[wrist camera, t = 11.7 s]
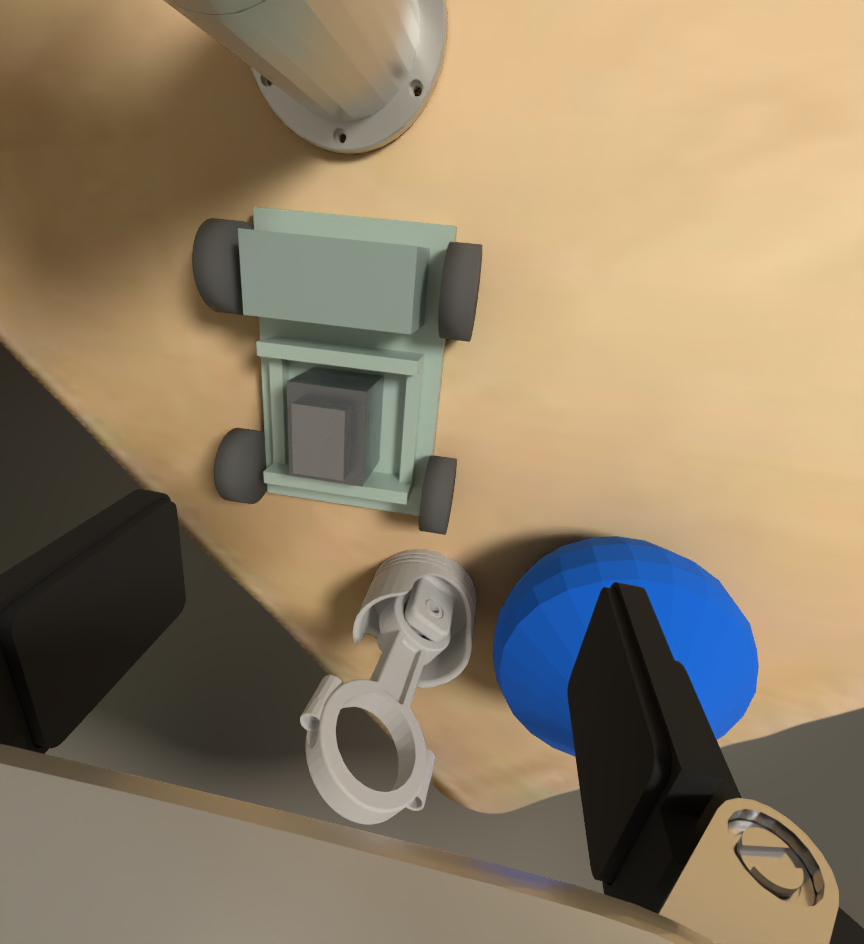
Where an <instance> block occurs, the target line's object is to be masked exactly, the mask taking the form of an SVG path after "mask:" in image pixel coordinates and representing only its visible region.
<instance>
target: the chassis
mask: <svg viewBox="0 0 864 944" xmlns="http://www.w3.org/2000/svg"><path fill="white" fill-rule="evenodd" d="M253 219H254V229H253V228H252V226H251V225H249V224H248V223H246V222H244V221H235V220H225V219H215V218H211V219H208V220H206V221H204V222H203V223H202V224H201V226H200V227H199V229H198V231H197V233H196V236H195V240H194V244H193V253H192V262H193V272H194V277H195V282H196V285H197V288H198V291H199V293H200V295H201V297H202V299H203V300H204V302H205V303H206V304H207V305H208V306H209V307H210V308H211V309H212V310H214V311H217V312H223V313H232V314H240V315H250V316H258V317H259V334H260V340H259V341H256V346H257V356H261V372H262V392H263V411H264V430H265V432H263V431H257V430H250V429H243V428H235V429H232V430H231V431H229V432H228V433H227V434H226V436H225V437H224V438H223V440H222V442H221V444H220V446H219V448H218V451H217V455H216V459H215V465H214V480H215V486H216V489H217V492H218V493H219V495H220V496H221V497H222V498H223V499H225V500H229V501H235V502H241V503H248V504H254V503H256V502H258V501H259V500H260V499H261V498H262V497H263V496H264V494H265V492H266V490H267V488H268V493H274V494H281V495H287V496H294V497H300V498H307V499H313V500H320V501H326V502H332V503H339V504H345V505H352V506H358V507H365V508H371V509H378V510H384V511H391V512H397V513H404V514H410V515H416V516H419V530H420V531H425V532H431V533H438V534H444V535H445V534H446V532H447V527H448V523H449V517H450V511H451V505H452V499H453V492H454V485H455V477H456V467H457V459H454V458H447V457H440V456H434V449H435V439H436V429H437V419H438V410H439V400H440V390H441V380H442V370H443V360H444V351H445V341H446V339H452V340H461V341H469V342H470V340H471V336H472V331H473V326H474V320H475V313H476V306H477V299H478V291H479V283H480V273H481V262H482V245H480V244H469V243H459V242H456V233H457V227H456V226H451V225H441V224H430V223H420V222H409V221H399V220H388V219H378V218H367V217H357V216H346V215H335V214H325V213H314V212H304V211H293V210H283V209H272V208H262V207H253ZM313 367H319V368H327V369H334V370H342V371H350V372H357V373H365V374H373V375H380V376H384V386H383V404H382V422H381V440H380V458H379V462H378V464H377V465H376V467H375V468H374V470H373V471H372V473H371V474H370V476H369V477H368V479H367V480H366V482H365V484H364V485H363V487H360V486H354V485H347V484H341V483H334V482H328V481H321V480H315V479H308V478H302V477H295V476H289V447H288V412H287V381H288V380H290V379H292V378H294V377H296V376H298V375H300V374H301V373H303V372H305V371H307V370H309V369H311V368H313Z"/></svg>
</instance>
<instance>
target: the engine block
mask: <svg viewBox="0 0 864 944" xmlns="http://www.w3.org/2000/svg"><path fill="white" fill-rule="evenodd" d="M383 386H384V376H380V375H373V374H365V373H357V372H350V371H342V370H334V369H327V368H319V367H313V368H311V369H309V370H307V371H305V372H303V373H301V374H300V375H298V376H296V377H294V378H292V379H290V380H288V381H287V412H288V447H289V476H295V477H302V478H308V479H315V480H321V481H328V482H334V483H341V484H347V485H354V486H360V487H363V485H364V484H365V482H366V480H367V479H368V477H369V476H370V474H371V473H372V471H373V470H374V468H375V467H376V465H377V464H378V462H379V458H380V440H381V422H382V404H383Z"/></svg>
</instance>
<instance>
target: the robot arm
mask: <svg viewBox="0 0 864 944" xmlns="http://www.w3.org/2000/svg"><path fill="white" fill-rule="evenodd" d="M164 1H165V2H166V3H168V4H169V5H170V6H172V7H173V8H174V9H176V10H177V11H178V12H179V13H181V14H182V15H183V16H185V17H186V18H187V19H189V20H190V21H191V22H193V23H194V24H195V25H197V26H198V27H199V28H201V29H202V30H203V31H204V32H206V33H207V34H208V35H210V36H211V37H212V38H214V39H215V40H216V41H218V42H219V43H220V44H222V45H223V46H224V47H225V48H227V49H228V50H229V51H231V52H232V53H233V54H235V55H236V56H237V57H239V58H240V59H241V60H243V61H244V62H245V63H247V64H248V65H249V66H250V68H251V71H252V73H253V75H254V78H255V80H256V82H257V85H258V87H259V89H260V91H261V93H262V95H263V96H264V98H265V99H266V101H267V103H268V104H269V106H270V107H271V109H272V110H273V112H274V113H275V114H276V115H277V116H278V117H279V118H280V119H281V121H282V122H283V123H284V124H285V125H286V126H287V127H288V128H290V129H291V130H292V131H293V132H295V133H296V134H297V135H299V136H300V137H301V138H303V139H304V140H306V141H308V142H310V143H311V144H313V145H315V146H318V147H320V148H323V149H325V150H328V151H331V152H338V153H345V154H353V153H364V152H368V151H371V150H374V149H377V148H380V147H383V146H385V145H386V144H388V143H390V142H391V141H393V140H395V139H396V138H398V137H399V136H400V135H401V134H403V133H404V132H405V131H406V130H407V129H408V128H409V127H410V126H411V125H412V124H413V123H414V122H415V121H416V119H417V118H418V117H419V115H420V114H421V112H422V111H423V110H424V108H425V107H426V105H427V103H428V101H429V99H430V97H431V95H432V93H433V92H434V90H435V88H436V85H437V82H438V79H439V76H440V73H441V69H442V66H443V63H444V57H445V50H446V44H447V23H448V12H447V5H446V0H164ZM270 82H271V83H273V84H272V85H270ZM418 88H420V89H422V93H421V95H420V96H418V97H417V96H415V90H416V89H418ZM342 135H346V141H345V142H344V143H341V137H342ZM185 598H186V595H185V586H184V576H183V567H182V557H181V547H180V537H179V527H178V517H177V508H176V505H175V503H173V502H171V500H170V498H169V496H168V495H166V494H164V493H159V492H154V491H149V490H144V489H138V490H135V491H133V492H132V493H130V494H128V495H127V496H125V497H124V498H122V499H120V500H119V501H117V502H116V503H114V504H112V505H111V506H109V507H108V508H106V509H105V510H103V511H101V512H100V513H98V514H97V515H95V516H94V517H92V518H90V519H89V520H87V521H85V522H84V523H82V524H81V525H79V526H77V527H76V528H74V529H73V530H71V531H69V532H68V533H66V534H65V535H63V536H61V537H60V538H58V539H57V540H55V541H54V542H52V543H50V544H49V545H47V546H46V547H44V548H42V549H41V550H39V551H38V552H36V553H35V554H33V555H31V556H30V557H28V558H27V559H25V560H23V561H22V562H20V563H18V564H17V565H15V566H14V567H12V568H11V569H9V570H7V571H6V572H4V573H3V574H1V575H0V944H864V929H863V928H862V927H861V926H860V925H859V924H858V923H857V922H855V921H854V920H853V919H852V918H851V917H850V916H849V915H847V914H846V913H845V912H844V911H843V910H842V909H841V908H839V890H838V887H837V884H836V881H835V878H834V875H833V872H832V870H831V868H830V867H829V865H828V863H827V862H826V860H825V858H824V857H823V855H822V853H821V852H820V851H819V850H818V848H817V847H816V846H815V845H814V843H813V842H812V841H811V840H810V839H809V837H808V836H807V835H806V834H805V833H804V832H803V831H802V830H800V829H799V828H798V827H797V826H796V825H795V824H794V823H792V822H791V821H790V820H789V819H788V818H786V817H784V816H783V815H782V814H780V813H779V812H777V811H775V810H774V809H772V808H771V807H768V806H766V805H764V804H761V803H759V802H757V801H754V800H749V799H742V798H741V796H740V793H739V791H738V789H737V786H736V784H735V782H734V779H733V777H732V775H731V773H730V770H729V768H728V766H727V763H726V761H725V759H724V756H723V754H722V752H721V749H720V747H719V745H718V742H717V740H716V738H715V736H714V733H713V731H712V729H711V726H710V724H709V722H708V719H707V717H706V715H705V712H704V710H703V708H702V705H701V703H700V701H699V699H698V696H697V694H696V692H695V689H694V687H693V685H692V682H691V680H690V678H689V675H688V673H687V671H686V669H685V668H684V666H683V664H681V663H680V662H679V661H676V660H674V657H673V655H672V653H671V650H670V648H669V645H668V643H667V641H666V638H665V636H664V633H663V631H662V629H661V626H660V624H659V621H658V619H657V616H656V614H655V612H654V609H653V607H652V604H651V602H650V600H649V597H648V595H647V592H646V590H645V589H644V588H643V587H639V586H634V585H629V584H624V583H618V582H614V583H613V584H612V585H611V587H610V588H607V587H603V588H602V589H601V591H600V594H599V597H598V599H597V602H596V605H595V608H594V611H593V614H592V616H591V619H590V622H589V625H588V628H587V630H586V633H585V636H584V639H583V642H582V644H581V647H580V650H579V653H578V656H577V659H576V661H575V664H574V667H573V670H572V673H571V675H570V678H569V682H568V690H567V696H568V705H569V712H570V719H571V727H572V734H573V741H574V749H575V756H576V763H577V771H578V778H579V785H580V792H581V800H582V806H583V814H584V822H585V829H586V836H587V844H588V851H589V858H590V866H591V871H592V874H593V877H594V878H595V879H596V880H600V881H602V882H603V889H604V894H601V893H598V892H595V891H592V890H589V889H586V888H583V887H579V886H576V885H572V884H568V883H565V882H561V881H557V880H553V879H550V878H546V877H542V876H539V875H535V874H531V873H527V872H524V871H520V870H516V869H512V868H509V867H505V866H501V865H498V864H494V863H490V862H486V861H482V860H479V859H475V858H471V857H467V856H462V855H459V854H454V853H451V852H447V851H443V850H439V849H435V848H430V847H426V846H423V845H418V844H414V843H410V842H406V841H402V840H398V839H394V838H390V837H386V836H382V835H378V834H374V833H370V832H366V831H362V830H357V829H353V828H350V827H346V826H342V825H337V824H334V823H330V822H326V821H322V820H318V819H313V818H309V817H305V816H301V815H297V814H293V813H289V812H285V811H280V810H276V809H272V808H268V807H264V806H260V805H256V804H251V803H247V802H243V801H239V800H235V799H231V798H227V797H223V796H218V795H214V794H210V793H206V792H201V791H197V790H194V789H190V788H185V787H181V786H177V785H172V784H169V783H164V782H160V781H156V780H152V779H148V778H144V777H139V776H135V775H131V774H126V773H122V772H118V771H114V770H110V769H106V768H101V767H97V766H93V765H88V764H84V763H80V762H76V761H71V760H67V759H63V758H58V757H55V756H50V755H46V754H45V752H46V751H47V750H48V749H49V748H54V747H56V746H58V745H60V744H61V743H62V742H63V741H64V740H65V739H66V738H67V737H68V736H69V734H70V733H71V732H72V731H73V730H74V729H75V728H76V727H77V726H78V725H79V724H80V723H81V722H82V720H83V719H84V718H85V717H86V716H87V715H88V714H89V713H90V712H91V711H92V710H93V708H94V707H95V706H96V705H97V704H98V703H99V702H100V701H101V700H102V699H103V698H104V696H105V695H106V694H107V693H108V692H109V691H110V690H111V689H112V688H113V687H114V686H115V684H116V683H117V682H118V681H119V680H120V679H121V678H122V677H123V676H124V674H125V673H126V672H127V671H128V670H129V669H130V668H131V667H132V666H133V665H134V663H136V661H137V660H138V659H139V658H140V657H141V656H142V655H143V654H144V653H145V652H146V651H147V649H148V648H149V647H150V646H151V645H152V644H153V643H154V642H155V641H156V640H157V638H158V637H159V636H160V635H161V634H162V633H163V632H164V631H165V630H166V629H167V628H168V626H169V625H170V624H171V623H172V622H173V621H174V620H175V619H176V618H177V617H178V615H179V614H180V613H181V612H182V610H183V608H184V605H185V600H186V599H185Z"/></svg>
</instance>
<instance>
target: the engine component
mask: <svg viewBox="0 0 864 944" xmlns="http://www.w3.org/2000/svg"><path fill="white" fill-rule="evenodd" d="M475 608H476V590H475V587H474V583H473V581H472V579H471V578H470V576H469V574H468V573H467V572H466V570H465V569H464V568H463V567H462V566H461V565H460V564H459V563H457V562H456V561H454V560H453V559H451V558H450V557H448V556H446V555H443V554H441V553H438V552H435V551H430V550H423V549H414V550H406V551H403V552H399V553H397V554H395V555H393V556H391V557H389V558H388V559H387V560H385V561H384V562H383V563H382V564H381V565H380V567H379V568H378V570H377V571H376V573H375V576H374V578H373V580H372V582H371V585H370V587H369V589H368V592H367V594H366V596H365V599H364V601H363V603H362V606H361V608H360V610H359V612H358V615H357V617H356V619H355V622H354V626H353V640H354V643H355V644H358V643H359V642H360V641H361V639H362V637H363V635H364V633H369V634H371V635H373V636H375V637H376V638H377V639H378V642H377V643H378V646H379V648H380V650H381V651H382V655H381V657H380V659H379V661H378V663H377V666H376V668H375V670H374V672H373V674H372V677H371V679H370V680H364V679H360V680H353V681H349V682H346V683H344V684H343V683H342V682H341V680H340V679H339V678H337V677H336V676H332V675H327V676H325V677H324V678H323V679H322V681H321V683H320V684H319V686H318V688H317V690H316V691H315V693H314V695H313V697H312V698H311V700H310V702H309V703H308V705H307V707H306V709H305V710H304V712H303V714H302V716H301V717H300V722H301V725H302V726H303V727H304V728H305V729H306V730H307V737H306V756H307V763H308V767H309V770H310V774H311V777H312V779H313V782H314V784H315V786H316V788H317V789H318V791H319V793H320V794H321V796H322V797H323V799H324V800H325V801H326V802H327V804H328V805H329V806H330V807H331V808H332V809H333V810H334V811H336V812H337V813H338V814H340V815H341V816H343V817H344V818H346V819H349V820H351V821H353V822H357V823H360V824H376V823H381V822H383V821H385V820H388V819H389V818H391V817H392V816H394V815H395V814H397V813H398V812H399V811H401V810H402V809H404V808H405V807H406V808H409V809H411V810H415V811H417V810H421V809H422V808H423V807H424V804H425V799H426V795H427V791H428V787H429V783H430V779H431V775H432V771H433V766H434V762H435V756H434V754H433V753H432V752H431V751H430V750H428V749H426V746H425V741H424V737H423V734H422V731H421V728H420V726H419V723H418V721H417V719H416V717H415V716H414V714H413V712H412V711H411V709H410V705H411V702H412V699H413V696H414V693H415V689H416V686H417V687H421V688H424V687H434V686H438V685H441V684H444V683H447V682H449V681H451V680H452V679H454V678H455V677H457V676H458V675H459V674H460V673H461V672H462V671H463V670H464V669H465V667H466V665H467V664H468V662H469V659H470V655H471V649H472V639H473V628H474V617H475ZM352 706H354V707H360V708H363V709H366V710H368V711H370V712H371V713H373V714H374V715H375V716H377V717H378V718H379V719H380V720H381V721H382V722H383V723H384V724H385V726H386V727H387V729H388V730H389V732H390V733H391V735H392V738H393V740H394V742H395V745H396V748H397V752H398V759H399V772H398V777H397V781H396V784H395V786H394V789H393V790H392V791H390V792H378V791H375V790H372V789H369V788H367V787H365V786H364V785H362V783H360V782H359V781H358V780H356V779H355V778H354V776H353V775H352V774H351V773H350V772H349V771H348V769H347V767H346V766H345V764H344V762H343V760H342V758H341V755H340V753H339V750H338V746H337V741H336V733H335V732H336V731H335V729H336V722H337V717H338V714H339V711H340V709H342V708H344V707H352Z"/></svg>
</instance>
